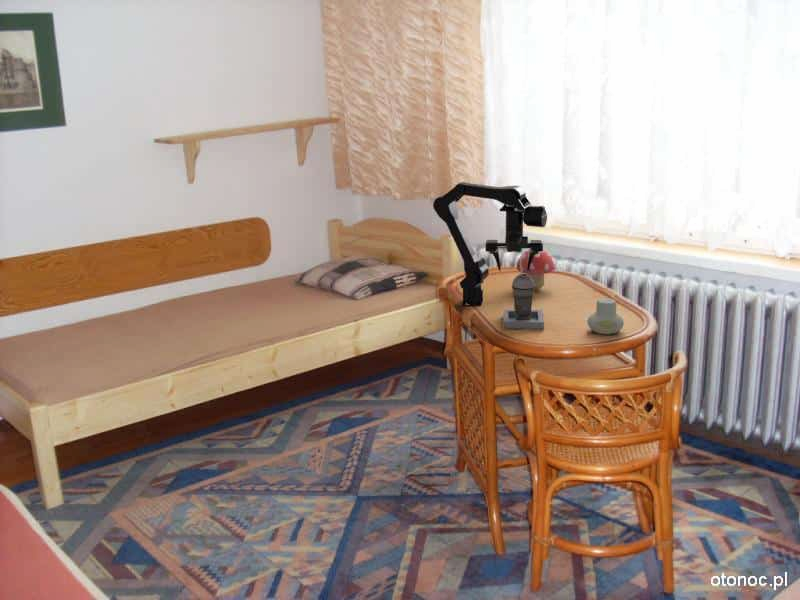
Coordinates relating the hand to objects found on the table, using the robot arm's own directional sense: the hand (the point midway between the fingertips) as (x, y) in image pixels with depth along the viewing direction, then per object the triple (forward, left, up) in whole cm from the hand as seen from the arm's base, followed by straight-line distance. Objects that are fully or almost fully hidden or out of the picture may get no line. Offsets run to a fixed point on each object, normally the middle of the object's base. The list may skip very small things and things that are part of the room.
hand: (513, 270), depth 294 cm
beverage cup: (+3, -16, -13) cm, 20 cm away
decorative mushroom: (+8, +22, -13) cm, 27 cm away
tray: (+3, -16, -13) cm, 21 cm away
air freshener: (+28, -23, -13) cm, 39 cm away
